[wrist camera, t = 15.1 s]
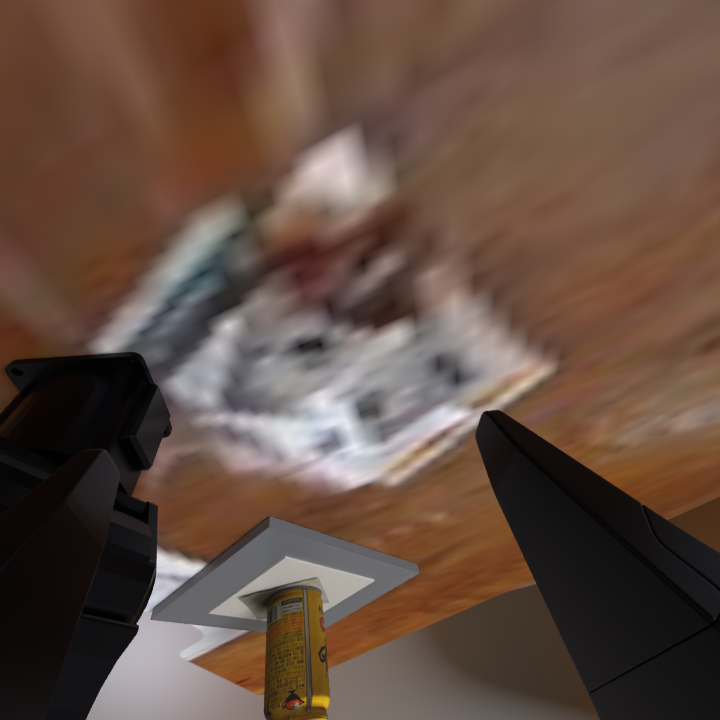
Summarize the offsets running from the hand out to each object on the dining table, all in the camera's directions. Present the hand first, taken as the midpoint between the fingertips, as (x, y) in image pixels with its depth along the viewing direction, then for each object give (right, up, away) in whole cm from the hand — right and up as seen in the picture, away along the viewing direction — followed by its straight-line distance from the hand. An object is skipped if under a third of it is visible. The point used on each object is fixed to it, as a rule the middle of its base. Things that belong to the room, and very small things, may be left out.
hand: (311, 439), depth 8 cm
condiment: (-7, -25, +30) cm, 40 cm away
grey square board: (-6, -24, +31) cm, 40 cm away
